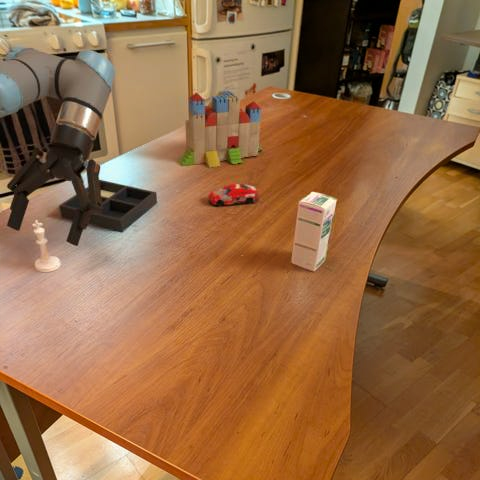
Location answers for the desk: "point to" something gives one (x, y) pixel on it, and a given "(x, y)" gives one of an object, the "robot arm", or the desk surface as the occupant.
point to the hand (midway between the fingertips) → (41, 236)
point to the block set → (221, 130)
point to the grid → (114, 206)
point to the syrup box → (313, 230)
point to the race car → (234, 195)
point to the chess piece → (44, 252)
